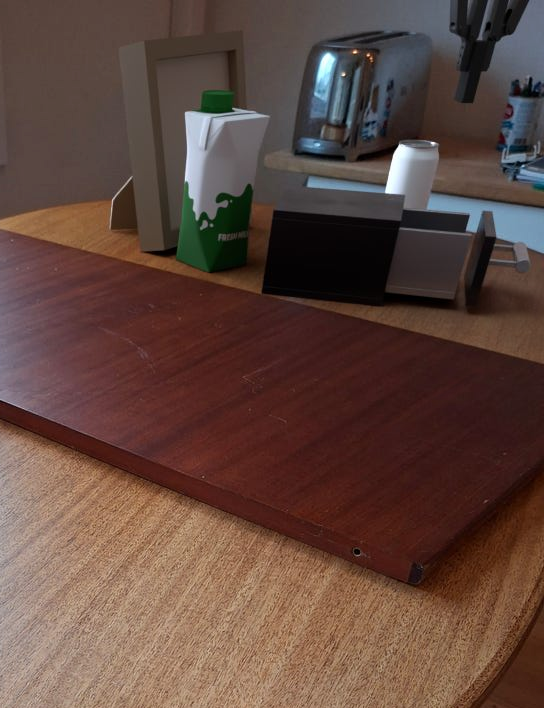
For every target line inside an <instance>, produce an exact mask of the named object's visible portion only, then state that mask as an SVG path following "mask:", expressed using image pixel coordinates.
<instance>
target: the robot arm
mask: <svg viewBox="0 0 544 708" xmlns="http://www.w3.org/2000/svg"><path fill="white" fill-rule="evenodd" d="M488 3H489V5H488ZM529 3H530V0H490V2H489V0H450V5H449V25H448V29H449V32H450V33H451V34H454V35H456V36H458V37H459V38H460V40H461V41H460V47H459V50H458V55H457V59H456V63H455V71H458V72H460V73H459V78H458V82H457V86H456V89H455V93H454V96H453V97H454V98H453V100H454V101H455V102H458V103H461V104H474V101H475V97H476V94H477V90H478V86H479V82H480V79H481V75H482V73H483V72H485V73H486V72H487V71H488V70H489V69H490V66H491V62H492V59H493V54H494V52H495V48H496V44H497V43H499V42H500V41H501V39H502V38H504V37H507V36H511V35H513V34H514V33H515V31H516V30H517V27H518V26H519V24H520V21H521V19H522V17H523V15H524V13H525V11H526V8H527V6H528V4H529ZM487 6H488V7H487ZM487 8H488V9H487ZM486 10H487V11H486ZM486 13H487V14H486ZM485 14H486V16H485ZM484 18H485V20H484ZM483 23H484V25H483ZM482 26H483V29H482ZM481 30H482V33H481ZM480 33H481V38H482V39H479V37H480Z"/></svg>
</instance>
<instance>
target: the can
mask: <svg viewBox="0 0 544 708" xmlns="http://www.w3.org/2000/svg"><path fill="white" fill-rule="evenodd" d="M439 147H440V144H439V143H438V142H435V141H431V140H424V139H423V140H422V139H404V140H400V141H399V142H398V146H397V148H396V149H395V150H394V152H393V155H392V159H391V163H390V168H389V172H388V177H387V181H386V185H385V191H384V193H389V194H401V195H405V200H404V206H403V208H414V209H426V210H428V205H429V201H430V198H431V193H432V189H433V186H434V181H435V177H436V172H437V169H438V164H439V160H440V153H439Z"/></svg>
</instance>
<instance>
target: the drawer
mask: <svg viewBox="0 0 544 708" xmlns="http://www.w3.org/2000/svg"><path fill="white" fill-rule="evenodd" d="M470 216H471V213H470V212H460V211H450V210H449V211H448V210H436V209H414V208H403V212H402V219H401V224H400V228H399V232H398V237H397V241H396V245H395V250H394V254H393V258H392V263H391V267H390V271H389V276H388V280H387V284H386V289H385V293H390V294H397V295H408V296H417V297H428V298H435V299H436V298H437V299H444V300H445V299H446V300H455V297H456V293H457V290H458V286H459V283H460V280H461V276H462V272H463V269H464V265H465V262H466V258H467V254H468V252H469V247H470V244H471V240H472V237H473V235H472V233H468V232H466V231H467V227H468V224H469V220H470ZM476 228H477V229H476V232H475V235H474V239H473V242H472V245H471V250H470V252H469V256H468V260H467V264H466V267H465V271H464V273H463V281H464V301H465V306H466V307H474V308H476V307H477V304H478V301H479V298H480V294H481V291H482V288H483V285H484V281H485V278H486V275H487V271H488V268H489V266H490V267H491V266H492V267H502V268H511V269H512V268H513V269H515V271H516V273H518V274H525V273H527V272H528V271H529V270H530V268H531V265H532V264H531V259H530V256H529V251H528V248H527V245H526V243H525V242H523V241H518V242H515V243H514V244H513V245H507V244H496V241H497V238H498V237H497V231H496V226H495V219H494V212H493V211H492V210H482V211H481V214H480V218H479V221H478V225H477V227H476ZM493 251H498V252H507V253H511V254H512V260H505V259H494V258H491V257H492V255H493Z"/></svg>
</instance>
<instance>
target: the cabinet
mask: <svg viewBox="0 0 544 708" xmlns="http://www.w3.org/2000/svg"><path fill="white" fill-rule="evenodd" d="M404 200H405V195H401V194H389V193H385V192H376V191H363V190H352V189H351V190H349V189H338V188H336V189H335V188H327V187H326V188H323V187H313V186H301V185H300V186H299V185H288V186H287V187H286V189H285V190H284V192H283V193H282V196H281V197H280V199H279V200H278V202H277V204H276V205H275V207H274V208H273V210H272V216H271V217H272V218H271V225H270V231H269V236H268V244H267V251H266V258H265V263H264V264H265V265H264V270H263V271H264V272H263V277H262V278H263V279H262V286H261V292H260V293H261V294H267V295H276V296H284V297H293V298H303V299H310V300H311V299H312V300H321V301H330V302H338V303H339V302H340V303H348V304H357V305H366V306H376V307H382V305H383V302H384V297H385V293H386V292H385V289H386V284H387V280H388V276H389V271H390V267H391V263H392V258H393V254H394V250H395V245H396V241H397V237H398V232H399V228H400V224H401V219H402V212H403V206H404Z"/></svg>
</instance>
